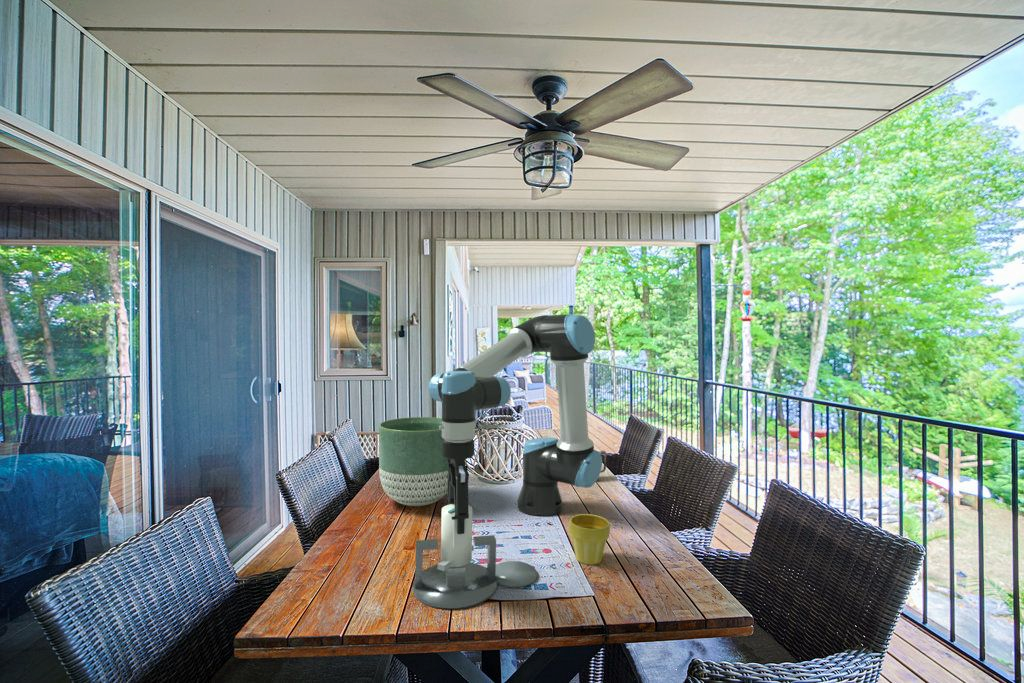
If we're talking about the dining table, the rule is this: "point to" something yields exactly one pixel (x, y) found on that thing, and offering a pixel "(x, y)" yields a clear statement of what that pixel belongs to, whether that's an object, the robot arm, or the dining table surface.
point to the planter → (412, 460)
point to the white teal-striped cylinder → (448, 553)
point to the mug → (604, 460)
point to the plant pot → (589, 537)
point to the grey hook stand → (455, 578)
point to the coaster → (515, 574)
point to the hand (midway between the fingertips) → (456, 539)
